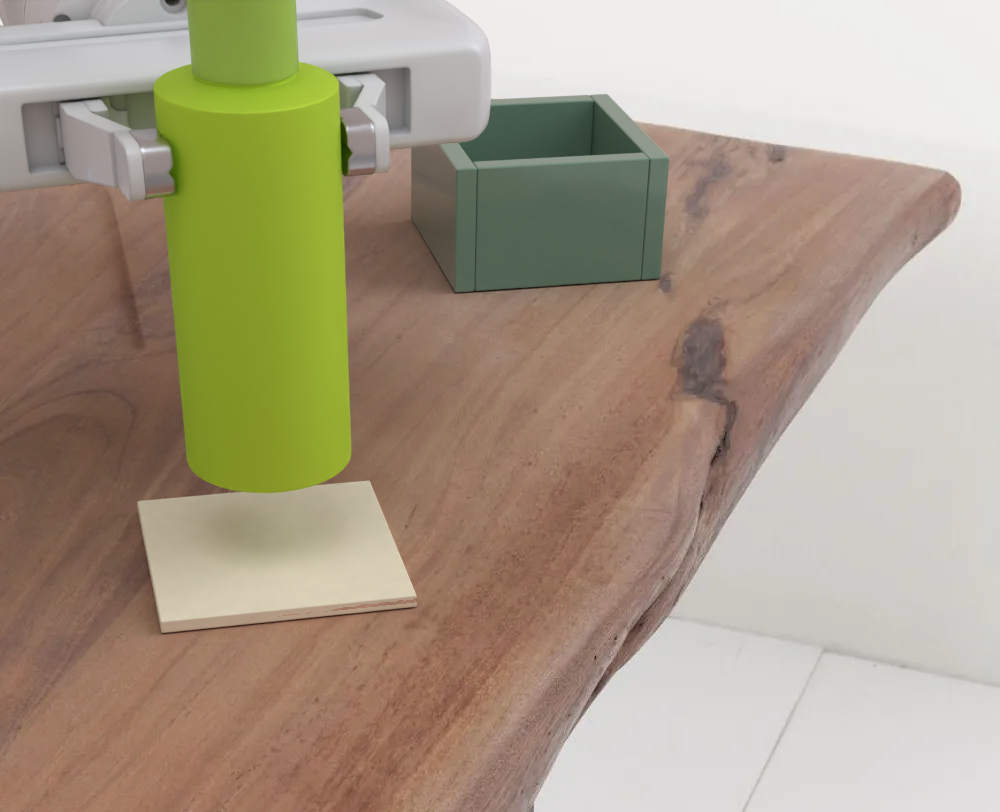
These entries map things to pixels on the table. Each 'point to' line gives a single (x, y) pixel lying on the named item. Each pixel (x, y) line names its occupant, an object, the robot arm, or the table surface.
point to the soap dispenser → (257, 251)
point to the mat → (270, 556)
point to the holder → (544, 197)
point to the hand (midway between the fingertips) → (263, 163)
